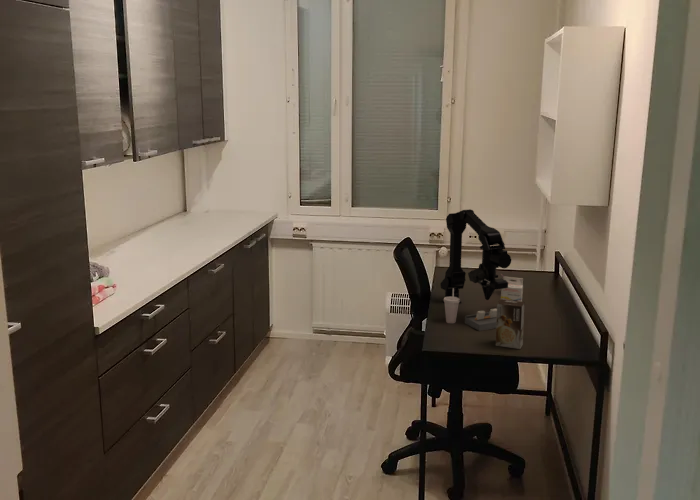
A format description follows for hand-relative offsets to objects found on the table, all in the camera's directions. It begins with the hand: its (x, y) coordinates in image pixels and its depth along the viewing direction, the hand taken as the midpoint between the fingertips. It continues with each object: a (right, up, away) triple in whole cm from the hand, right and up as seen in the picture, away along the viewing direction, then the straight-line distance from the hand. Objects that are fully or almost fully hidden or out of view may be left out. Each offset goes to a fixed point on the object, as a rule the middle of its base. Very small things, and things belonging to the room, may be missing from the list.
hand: (487, 299), depth 270 cm
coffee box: (+3, -15, -24) cm, 28 cm away
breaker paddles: (+2, -6, -2) cm, 7 cm away
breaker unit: (+2, -9, -2) cm, 10 cm away
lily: (+17, -1, +35) cm, 39 cm away
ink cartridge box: (+12, -6, +12) cm, 18 cm away
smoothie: (-14, -9, +1) cm, 17 cm away
